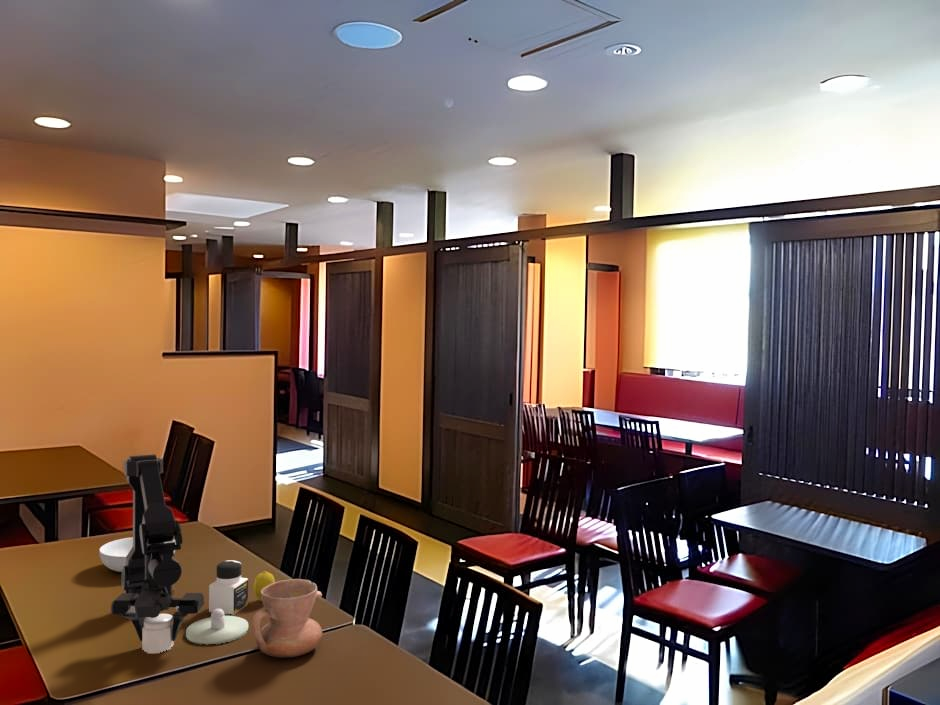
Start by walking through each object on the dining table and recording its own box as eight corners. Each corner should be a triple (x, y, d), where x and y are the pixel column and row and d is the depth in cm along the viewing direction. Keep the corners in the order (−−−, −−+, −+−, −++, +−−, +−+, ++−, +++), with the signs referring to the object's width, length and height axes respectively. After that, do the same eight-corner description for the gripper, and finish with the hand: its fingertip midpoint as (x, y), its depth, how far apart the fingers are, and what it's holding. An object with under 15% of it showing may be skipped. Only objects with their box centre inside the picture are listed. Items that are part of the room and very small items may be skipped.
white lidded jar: (139, 653, 159) (139, 624, 159) (149, 641, 165) (149, 613, 165) (167, 653, 160) (167, 624, 159) (176, 641, 166) (176, 613, 165)
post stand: (177, 645, 164) (177, 621, 163) (196, 619, 178) (196, 597, 177) (240, 644, 165) (240, 620, 165) (254, 619, 179) (254, 597, 178)
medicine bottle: (234, 615, 181) (234, 568, 180) (208, 612, 182) (208, 565, 182) (248, 604, 188) (248, 559, 187) (223, 602, 189) (223, 557, 189)
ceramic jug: (302, 628, 174) (301, 570, 174) (339, 646, 165) (339, 585, 164) (234, 654, 161) (233, 591, 160) (271, 675, 151) (270, 609, 151)
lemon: (279, 598, 192) (279, 569, 192) (267, 606, 187) (267, 575, 187) (261, 595, 194) (262, 566, 194) (249, 603, 189) (249, 573, 189)
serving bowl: (191, 565, 217) (191, 543, 216) (125, 586, 199) (126, 561, 199) (149, 552, 228) (149, 530, 227) (84, 570, 210) (84, 547, 210)
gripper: (100, 585, 153) (99, 657, 154) (190, 585, 154) (189, 656, 155) (121, 567, 164) (120, 635, 165) (205, 567, 165) (204, 634, 166)
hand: (158, 640), depth 162 cm, fingers open, 7 cm apart
